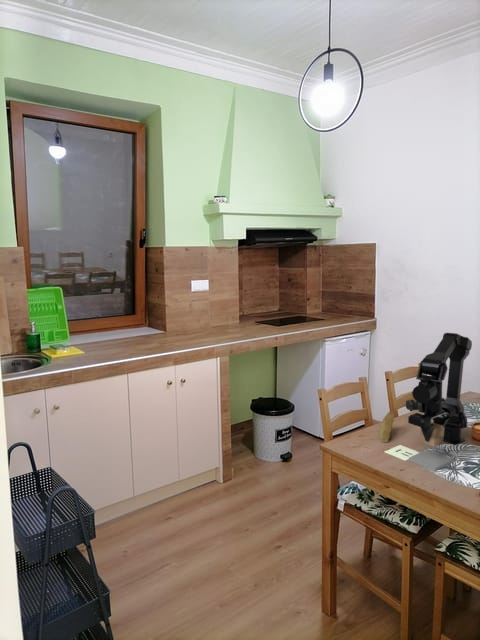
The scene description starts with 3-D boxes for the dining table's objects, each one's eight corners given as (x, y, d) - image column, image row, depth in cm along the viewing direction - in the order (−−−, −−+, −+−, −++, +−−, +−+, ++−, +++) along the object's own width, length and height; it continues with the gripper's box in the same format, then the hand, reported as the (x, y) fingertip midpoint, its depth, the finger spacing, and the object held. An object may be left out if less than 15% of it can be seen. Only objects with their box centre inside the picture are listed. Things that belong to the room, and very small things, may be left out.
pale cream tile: (400, 445, 170) (400, 444, 170) (421, 453, 163) (421, 453, 163) (384, 451, 165) (384, 451, 165) (405, 460, 158) (405, 460, 158)
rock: (393, 440, 169) (406, 428, 176) (379, 420, 171) (392, 409, 178) (373, 449, 177) (386, 438, 183) (360, 430, 179) (373, 419, 185)
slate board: (427, 451, 164) (427, 449, 164) (454, 461, 156) (454, 458, 155) (408, 460, 158) (408, 457, 158) (434, 471, 150) (435, 468, 149)
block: (429, 437, 159) (429, 421, 158) (442, 442, 155) (443, 425, 154) (420, 441, 156) (421, 425, 155) (434, 446, 152) (434, 429, 151)
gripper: (427, 384, 165) (427, 425, 167) (394, 395, 155) (394, 438, 157) (457, 391, 156) (455, 434, 158) (424, 403, 145) (423, 449, 148)
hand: (431, 439), depth 156 cm, fingers closed on block, 5 cm apart
